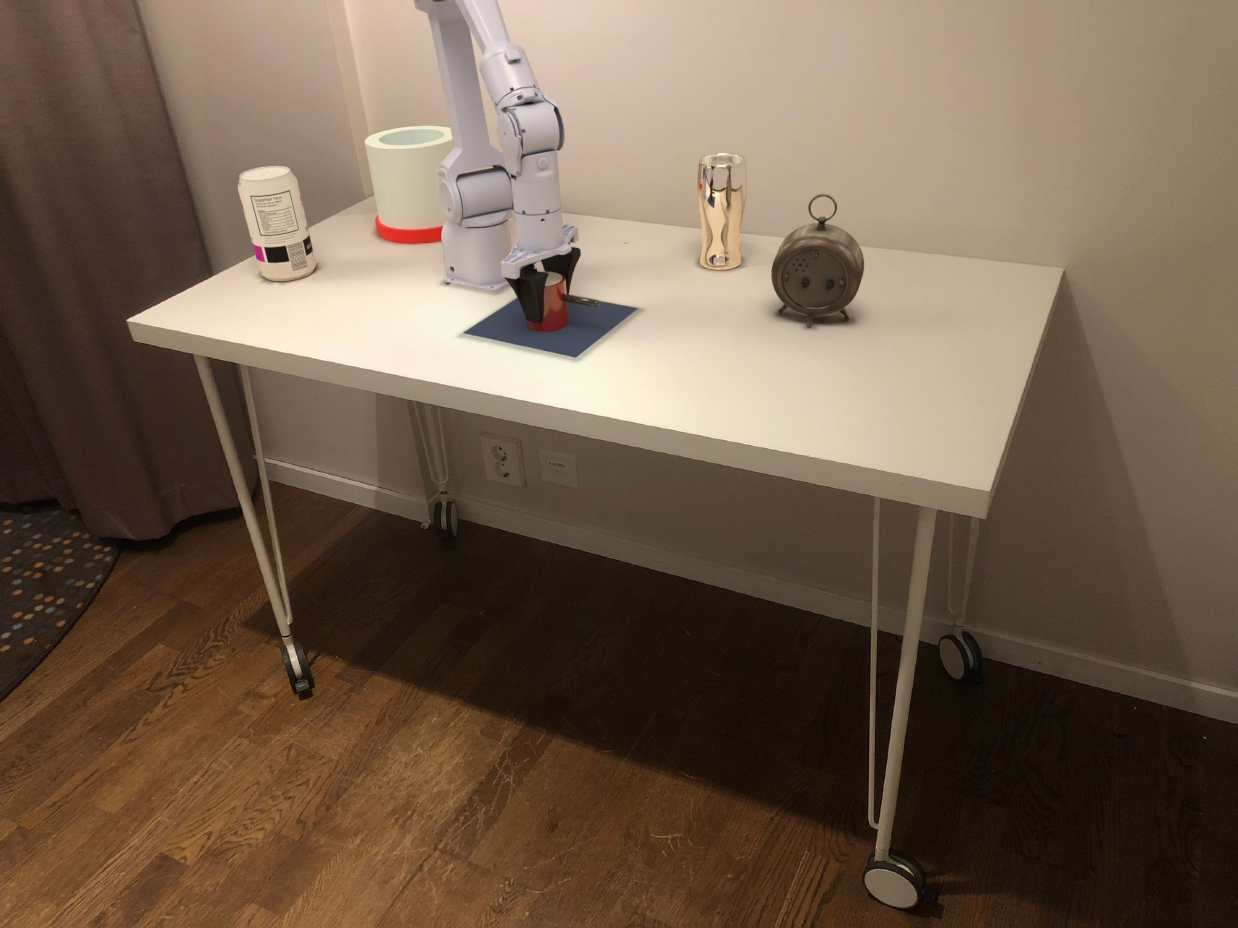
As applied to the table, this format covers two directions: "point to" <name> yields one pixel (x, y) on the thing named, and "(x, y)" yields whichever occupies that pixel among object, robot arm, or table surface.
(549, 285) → the pot
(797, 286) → the alarm clock
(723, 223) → the beer glass
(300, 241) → the supplement can
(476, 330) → the cloth
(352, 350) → the table surface
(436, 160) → the container
